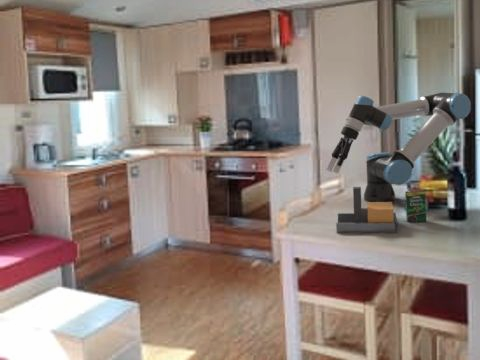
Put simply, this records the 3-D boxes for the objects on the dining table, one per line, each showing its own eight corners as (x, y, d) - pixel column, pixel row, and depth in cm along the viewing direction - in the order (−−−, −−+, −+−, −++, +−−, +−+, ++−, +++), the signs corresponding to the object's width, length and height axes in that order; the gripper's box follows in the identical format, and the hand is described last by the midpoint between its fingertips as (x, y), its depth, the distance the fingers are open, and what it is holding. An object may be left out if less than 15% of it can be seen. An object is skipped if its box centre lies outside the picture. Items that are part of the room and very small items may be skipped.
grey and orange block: (354, 228, 229) (353, 190, 226) (354, 220, 240) (353, 184, 237) (393, 228, 225) (393, 190, 222) (392, 220, 237) (391, 183, 234)
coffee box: (406, 222, 237) (406, 192, 234) (405, 220, 239) (405, 190, 237) (426, 222, 235) (426, 191, 233) (425, 220, 238) (425, 190, 235)
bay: (336, 233, 229) (336, 223, 228) (338, 222, 244) (337, 213, 243) (397, 232, 223) (397, 223, 223) (395, 221, 239) (395, 212, 238)
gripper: (338, 125, 266) (319, 166, 267) (351, 124, 241) (330, 169, 242) (352, 132, 267) (333, 173, 268) (366, 132, 242) (345, 176, 243)
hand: (331, 171), depth 255 cm, fingers open, 13 cm apart
